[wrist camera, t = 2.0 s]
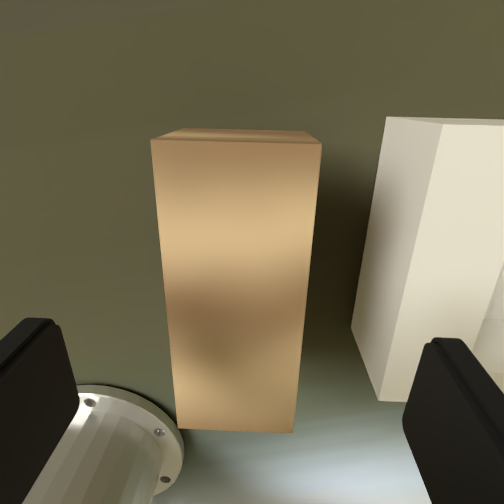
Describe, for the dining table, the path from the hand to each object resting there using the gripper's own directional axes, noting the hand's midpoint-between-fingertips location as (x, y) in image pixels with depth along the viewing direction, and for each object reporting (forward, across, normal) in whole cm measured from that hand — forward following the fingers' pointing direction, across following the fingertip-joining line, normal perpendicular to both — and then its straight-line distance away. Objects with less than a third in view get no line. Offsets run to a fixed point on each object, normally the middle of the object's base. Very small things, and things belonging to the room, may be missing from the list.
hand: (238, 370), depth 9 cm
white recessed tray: (+12, -12, +1) cm, 17 cm away
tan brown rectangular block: (+12, 0, +1) cm, 12 cm away
